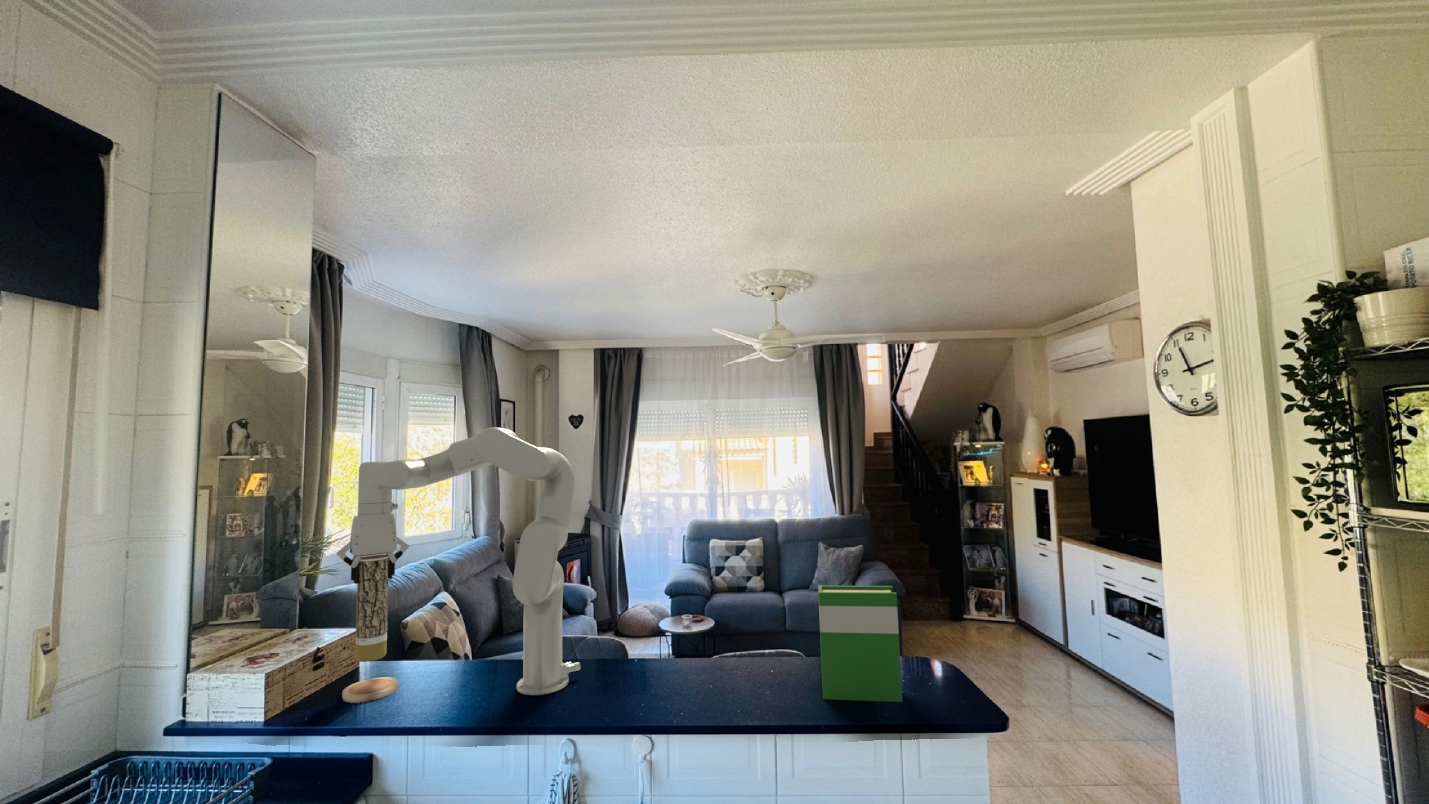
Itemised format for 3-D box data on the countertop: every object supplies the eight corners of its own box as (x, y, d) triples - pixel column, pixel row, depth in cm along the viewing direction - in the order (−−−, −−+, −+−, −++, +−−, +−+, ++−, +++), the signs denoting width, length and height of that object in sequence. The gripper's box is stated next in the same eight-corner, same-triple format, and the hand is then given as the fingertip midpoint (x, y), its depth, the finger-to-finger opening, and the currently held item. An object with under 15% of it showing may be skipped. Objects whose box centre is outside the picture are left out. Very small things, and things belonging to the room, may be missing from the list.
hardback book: (897, 688, 138) (891, 585, 140) (902, 702, 131) (896, 593, 133) (822, 686, 141) (818, 585, 143) (823, 699, 133) (818, 592, 136)
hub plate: (393, 679, 153) (393, 673, 153) (402, 693, 144) (402, 686, 144) (339, 692, 145) (339, 685, 146) (345, 707, 136) (345, 700, 136)
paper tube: (372, 663, 141) (374, 559, 144) (348, 662, 143) (351, 559, 145) (392, 654, 148) (395, 554, 150) (369, 652, 149) (372, 554, 152)
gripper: (409, 506, 157) (407, 573, 155) (332, 511, 146) (330, 583, 144) (415, 507, 151) (413, 577, 150) (336, 513, 140) (334, 588, 139)
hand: (373, 580), depth 147 cm, fingers closed on paper tube, 6 cm apart
